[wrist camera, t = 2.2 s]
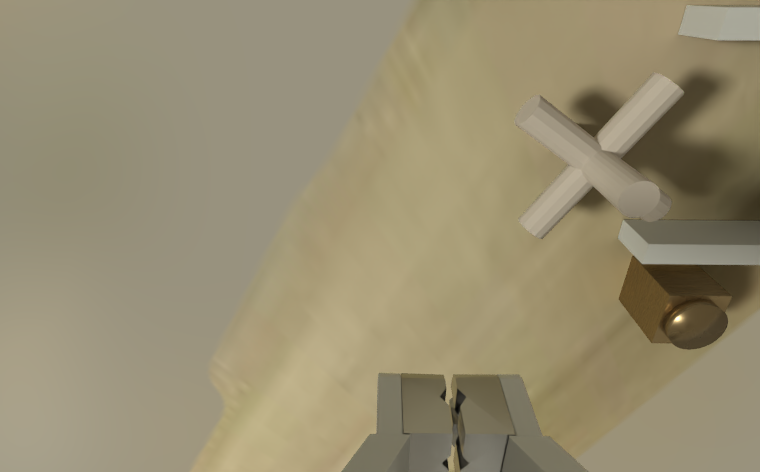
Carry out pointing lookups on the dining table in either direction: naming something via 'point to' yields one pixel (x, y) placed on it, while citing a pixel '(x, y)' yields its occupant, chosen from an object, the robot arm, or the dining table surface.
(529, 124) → the beige crossed rod piece
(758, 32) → the socket cradle
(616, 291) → the dining table surface
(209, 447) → the dining table surface
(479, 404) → the robot arm
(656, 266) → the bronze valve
